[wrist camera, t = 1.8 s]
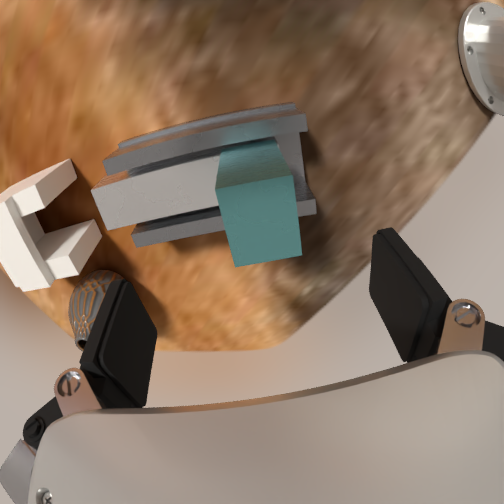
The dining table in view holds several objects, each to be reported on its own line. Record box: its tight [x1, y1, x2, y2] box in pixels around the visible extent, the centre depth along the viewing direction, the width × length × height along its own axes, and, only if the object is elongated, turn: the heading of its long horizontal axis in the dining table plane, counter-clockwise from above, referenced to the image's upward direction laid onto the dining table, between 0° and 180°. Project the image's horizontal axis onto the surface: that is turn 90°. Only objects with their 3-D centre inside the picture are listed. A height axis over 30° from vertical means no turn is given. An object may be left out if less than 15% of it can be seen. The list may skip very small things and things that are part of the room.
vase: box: [69, 270, 124, 351], centre depth 27 cm, size 7×7×9 cm
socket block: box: [0, 159, 102, 292], centre depth 22 cm, size 9×8×7 cm
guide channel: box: [103, 102, 317, 248], centre depth 22 cm, size 14×8×4 cm, turn 100°
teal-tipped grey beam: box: [91, 136, 302, 267], centre depth 19 cm, size 14×4×10 cm, turn 100°
